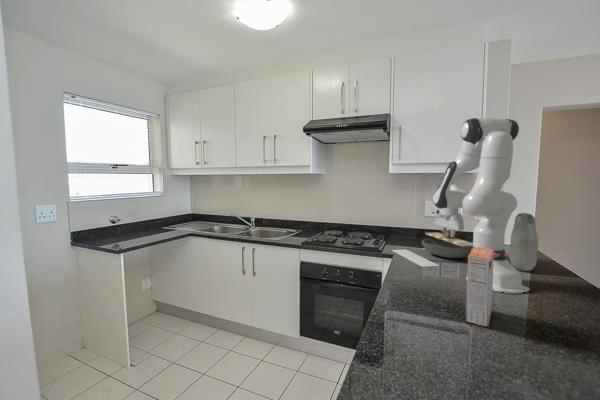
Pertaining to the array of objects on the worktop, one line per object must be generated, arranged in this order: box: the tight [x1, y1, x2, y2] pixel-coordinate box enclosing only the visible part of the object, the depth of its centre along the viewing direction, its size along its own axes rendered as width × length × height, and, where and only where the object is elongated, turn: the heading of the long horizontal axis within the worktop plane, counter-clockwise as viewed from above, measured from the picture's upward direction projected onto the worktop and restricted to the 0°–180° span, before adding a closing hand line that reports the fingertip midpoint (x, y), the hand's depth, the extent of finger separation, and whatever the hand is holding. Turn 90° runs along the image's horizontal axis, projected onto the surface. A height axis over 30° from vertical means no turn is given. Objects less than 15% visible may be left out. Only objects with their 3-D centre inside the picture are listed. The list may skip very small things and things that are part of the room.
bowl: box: [421, 238, 472, 260], centre depth 156 cm, size 27×28×8 cm
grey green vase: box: [509, 212, 539, 272], centre depth 131 cm, size 10×10×28 cm
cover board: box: [424, 229, 473, 246], centre depth 155 cm, size 33×8×5 cm, turn 7°
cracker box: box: [465, 247, 494, 328], centre depth 85 cm, size 14×6×21 cm, turn 141°
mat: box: [391, 249, 440, 267], centre depth 154 cm, size 34×10×1 cm, turn 7°
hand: (448, 235), depth 155 cm, fingers closed on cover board, 4 cm apart
